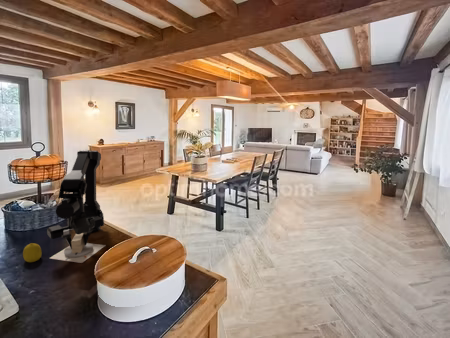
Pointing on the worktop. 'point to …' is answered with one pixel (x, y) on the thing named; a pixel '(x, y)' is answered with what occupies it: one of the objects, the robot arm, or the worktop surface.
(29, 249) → the lemon
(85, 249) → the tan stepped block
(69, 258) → the dial plate
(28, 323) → the worktop surface
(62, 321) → the worktop surface
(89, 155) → the robot arm
